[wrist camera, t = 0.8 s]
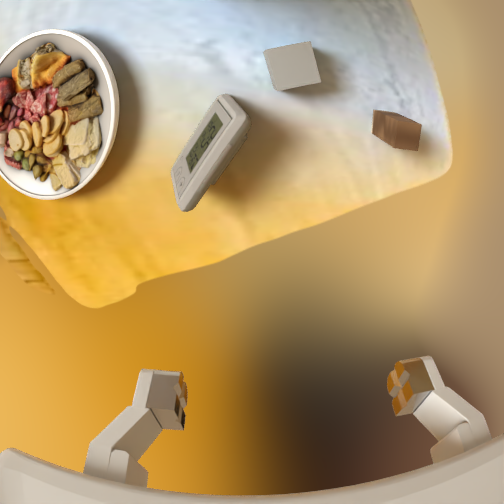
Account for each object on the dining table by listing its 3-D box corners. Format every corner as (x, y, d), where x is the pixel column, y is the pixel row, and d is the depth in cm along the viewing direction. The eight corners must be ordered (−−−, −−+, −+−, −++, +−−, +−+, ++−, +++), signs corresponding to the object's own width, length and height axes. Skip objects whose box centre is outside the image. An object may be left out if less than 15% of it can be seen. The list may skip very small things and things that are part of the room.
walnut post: (373, 109, 43) (397, 120, 35) (394, 112, 43) (421, 124, 35) (371, 132, 45) (394, 148, 38) (392, 135, 45) (417, 150, 38)
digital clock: (227, 87, 41) (223, 92, 32) (269, 127, 45) (275, 144, 36) (157, 159, 47) (138, 183, 38) (197, 193, 51) (187, 224, 42)
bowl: (142, 29, 35) (124, 25, 28) (118, 199, 51) (101, 221, 45) (4, 37, 30) (-23, 40, 24) (-1, 179, 46) (-23, 195, 40)
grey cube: (263, 51, 38) (265, 49, 33) (302, 43, 37) (310, 41, 32) (273, 88, 41) (277, 91, 36) (312, 80, 41) (321, 82, 36)
